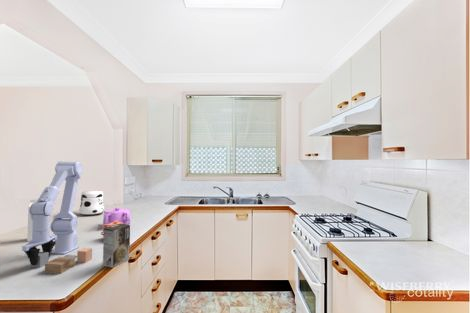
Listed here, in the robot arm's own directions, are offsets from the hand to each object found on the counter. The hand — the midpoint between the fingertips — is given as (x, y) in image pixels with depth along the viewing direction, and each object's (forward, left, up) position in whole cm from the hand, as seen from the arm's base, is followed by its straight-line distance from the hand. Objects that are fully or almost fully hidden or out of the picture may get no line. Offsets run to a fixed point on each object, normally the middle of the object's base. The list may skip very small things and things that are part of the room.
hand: (40, 261), depth 103 cm
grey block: (0, 0, -2) cm, 2 cm away
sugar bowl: (-37, +10, -2) cm, 38 cm away
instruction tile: (-7, +6, -1) cm, 9 cm away
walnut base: (+2, +11, -1) cm, 11 cm away
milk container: (-90, -42, -2) cm, 99 cm away
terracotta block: (-7, +15, -2) cm, 17 cm away
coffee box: (-7, +30, -2) cm, 31 cm away
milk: (-29, -31, -2) cm, 42 cm away
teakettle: (-63, -4, -2) cm, 63 cm away
